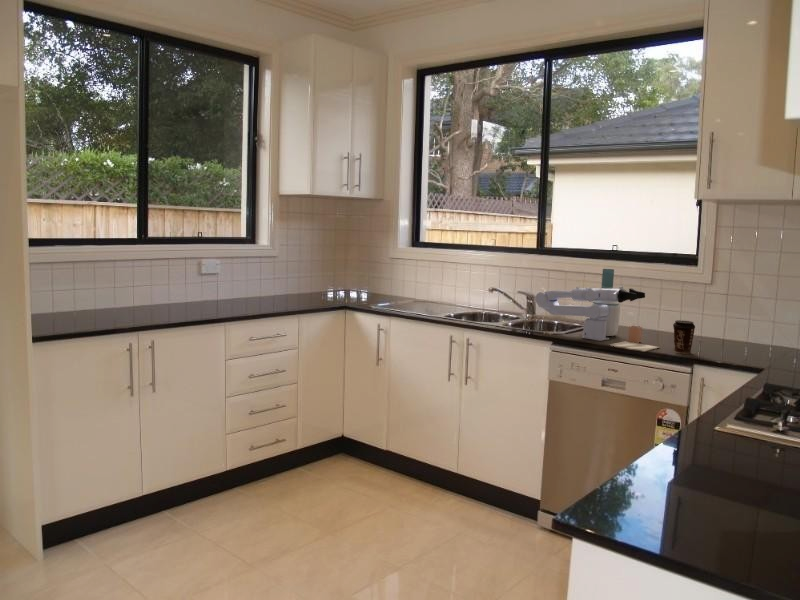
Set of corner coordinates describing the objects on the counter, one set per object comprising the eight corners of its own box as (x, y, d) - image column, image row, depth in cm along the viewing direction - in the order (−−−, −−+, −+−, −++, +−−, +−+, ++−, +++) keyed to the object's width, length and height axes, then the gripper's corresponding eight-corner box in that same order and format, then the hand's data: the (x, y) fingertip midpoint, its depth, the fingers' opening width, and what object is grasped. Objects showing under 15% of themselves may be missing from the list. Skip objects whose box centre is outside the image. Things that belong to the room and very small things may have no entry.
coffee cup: (673, 349, 290) (675, 319, 288) (694, 352, 286) (696, 321, 284) (669, 352, 282) (672, 321, 281) (691, 355, 278) (693, 323, 277)
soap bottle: (589, 336, 317) (594, 268, 314) (590, 332, 329) (594, 267, 325) (617, 338, 314) (622, 270, 310) (617, 334, 326) (622, 268, 322)
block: (628, 342, 304) (629, 325, 303) (632, 341, 307) (633, 324, 306) (636, 343, 301) (637, 326, 301) (641, 342, 304) (642, 326, 303)
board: (608, 345, 294) (608, 344, 294) (624, 342, 303) (625, 341, 303) (644, 351, 282) (644, 350, 282) (659, 348, 292) (659, 347, 292)
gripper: (602, 286, 298) (632, 287, 288) (619, 285, 308) (648, 285, 298) (602, 303, 299) (632, 303, 289) (619, 301, 309) (648, 301, 299)
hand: (640, 295), depth 294 cm, fingers open, 7 cm apart
